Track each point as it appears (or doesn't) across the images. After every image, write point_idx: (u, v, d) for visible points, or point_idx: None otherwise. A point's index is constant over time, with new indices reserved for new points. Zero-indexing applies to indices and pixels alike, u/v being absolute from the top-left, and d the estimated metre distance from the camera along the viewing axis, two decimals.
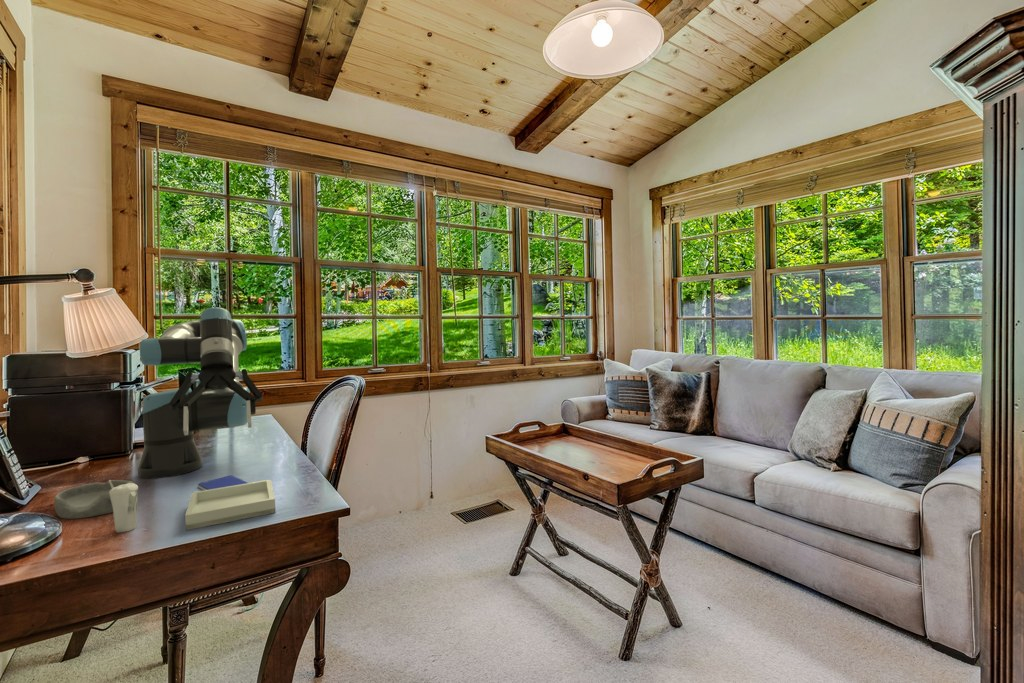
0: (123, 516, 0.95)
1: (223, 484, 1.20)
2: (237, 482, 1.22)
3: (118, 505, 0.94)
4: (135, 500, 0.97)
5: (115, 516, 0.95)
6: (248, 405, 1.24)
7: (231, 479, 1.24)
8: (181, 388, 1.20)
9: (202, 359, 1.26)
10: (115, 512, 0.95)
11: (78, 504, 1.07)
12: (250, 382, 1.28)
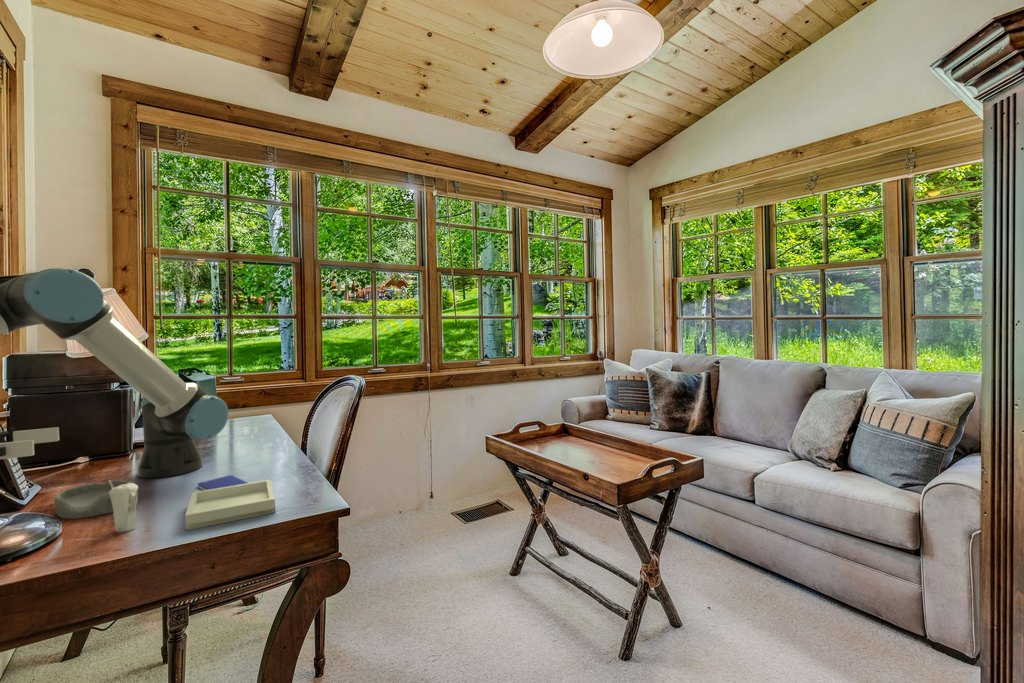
0: (123, 516, 0.95)
1: (223, 484, 1.20)
2: (237, 482, 1.22)
3: (118, 505, 0.94)
4: (135, 500, 0.97)
5: (115, 516, 0.95)
6: None
7: (231, 479, 1.24)
8: None
9: None
10: (115, 512, 0.95)
11: (78, 504, 1.07)
12: None
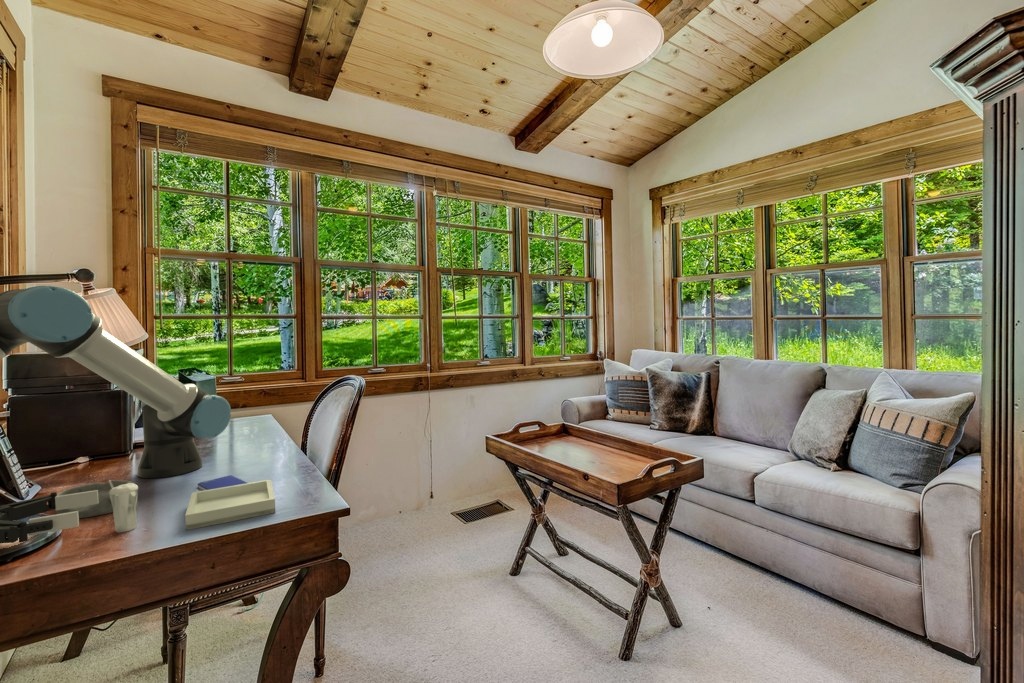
0: (123, 516, 0.95)
1: (223, 484, 1.20)
2: (236, 482, 1.22)
3: (118, 505, 0.94)
4: (135, 500, 0.97)
5: (115, 516, 0.95)
6: None
7: (231, 479, 1.24)
8: None
9: None
10: (115, 512, 0.95)
11: None
12: None
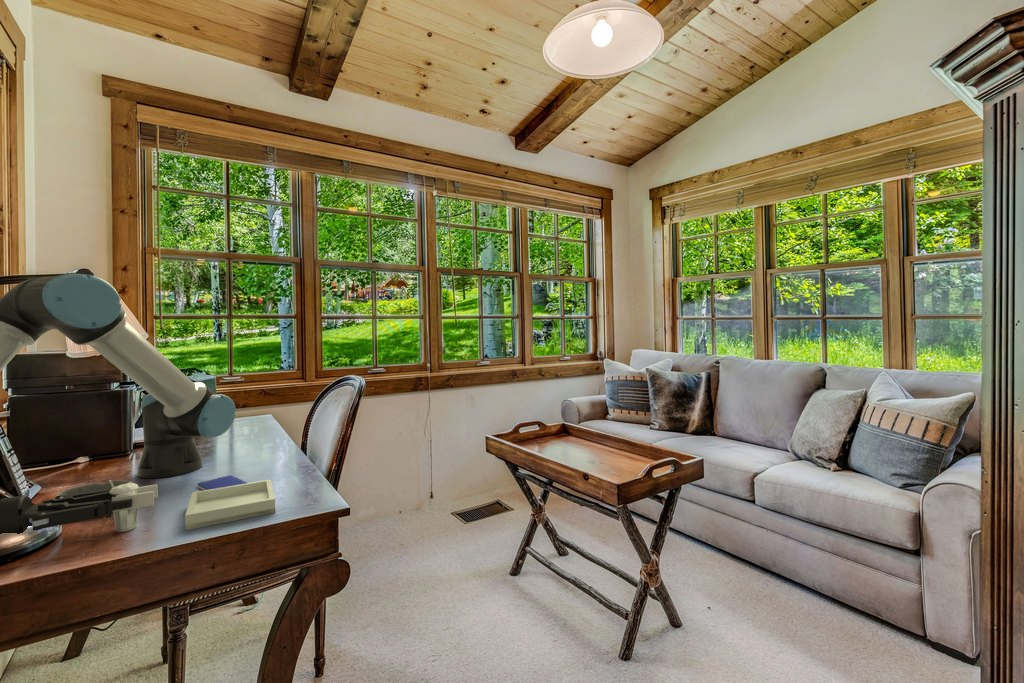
0: (123, 515, 0.95)
1: (222, 484, 1.20)
2: (236, 482, 1.22)
3: None
4: None
5: (115, 516, 0.95)
6: None
7: (230, 479, 1.24)
8: None
9: None
10: None
11: None
12: None
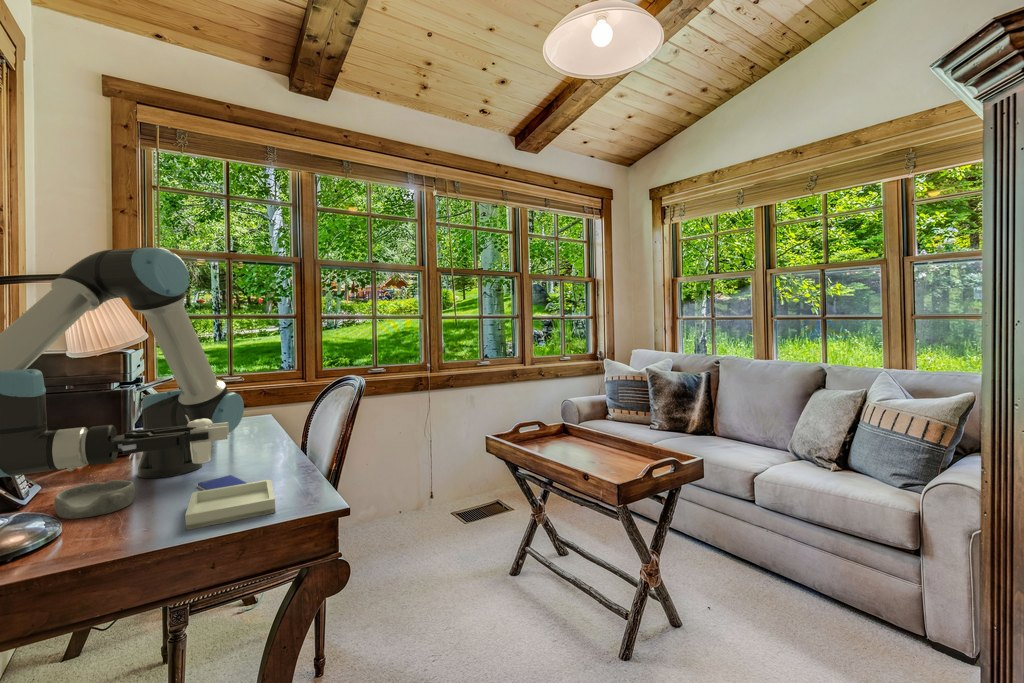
0: (200, 448, 1.00)
1: (222, 484, 1.20)
2: (236, 482, 1.22)
3: None
4: None
5: (192, 448, 1.00)
6: None
7: (230, 479, 1.24)
8: None
9: None
10: (192, 444, 1.00)
11: (78, 504, 1.07)
12: None
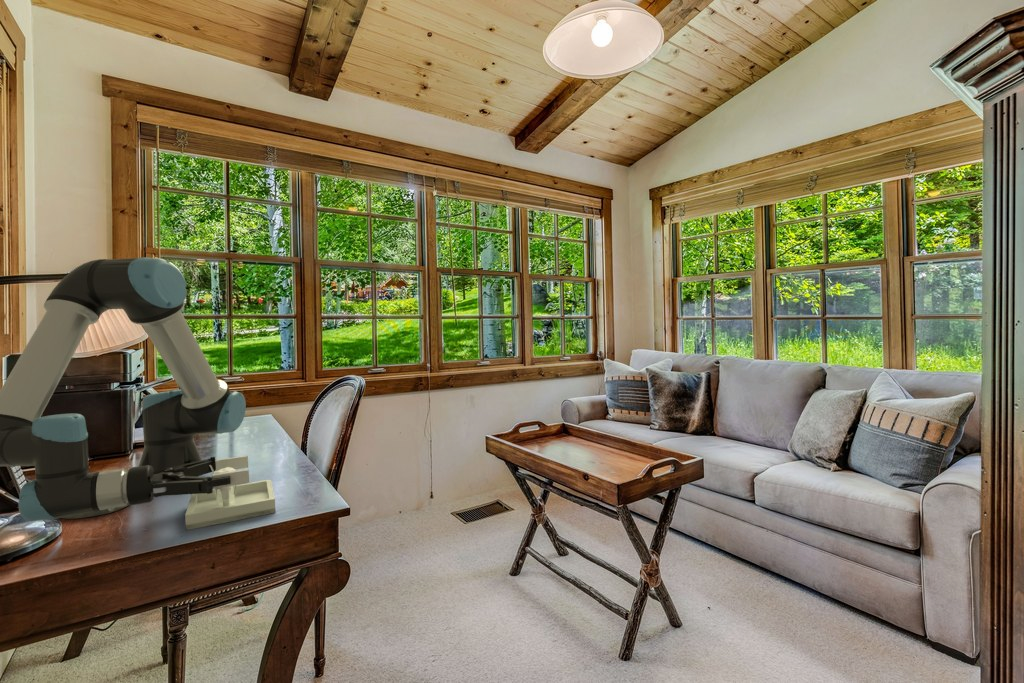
0: (225, 498, 1.00)
1: None
2: None
3: (221, 488, 1.00)
4: None
5: (218, 498, 1.00)
6: None
7: None
8: None
9: None
10: (218, 494, 1.00)
11: None
12: None
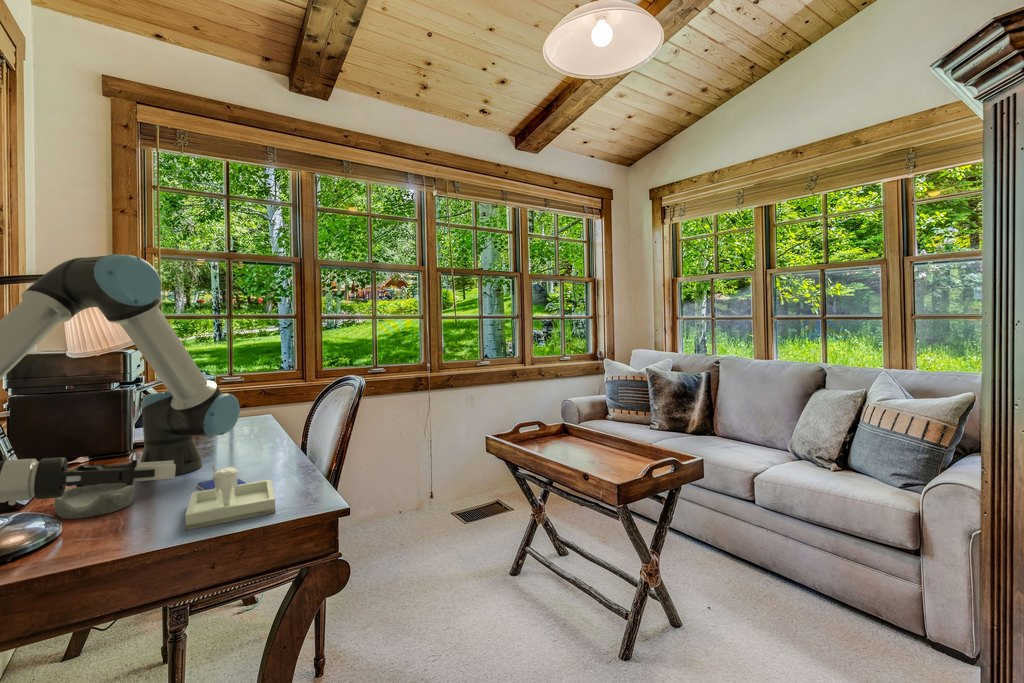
0: (226, 498, 1.01)
1: None
2: None
3: (222, 488, 1.00)
4: (236, 483, 1.02)
5: (219, 498, 1.00)
6: (143, 480, 0.94)
7: None
8: None
9: None
10: (219, 494, 1.00)
11: (78, 504, 1.07)
12: (96, 483, 0.89)
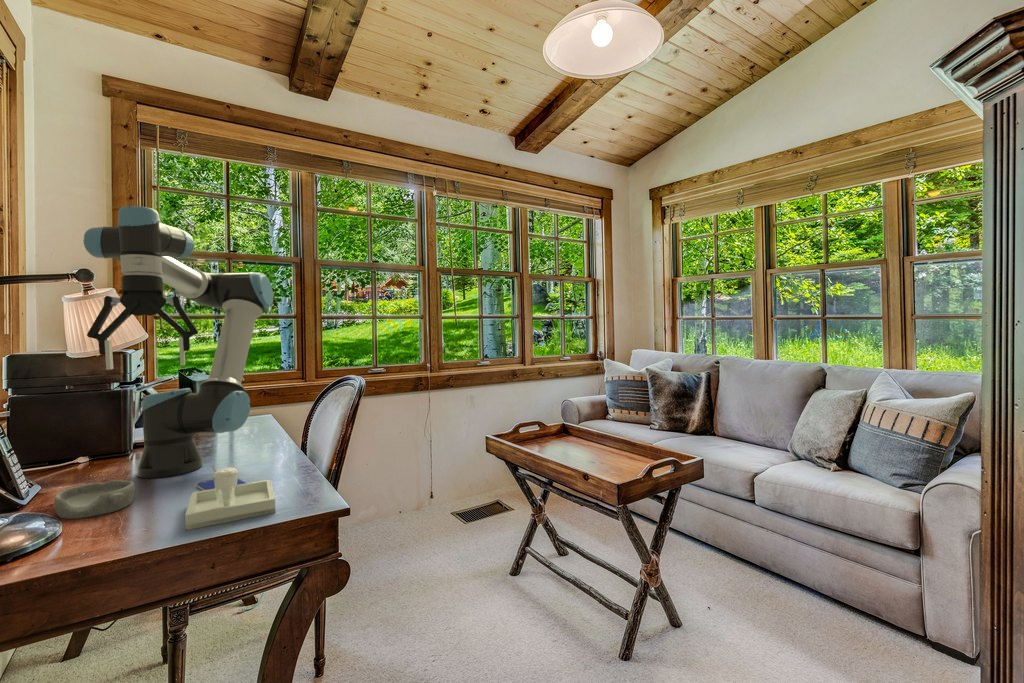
0: (226, 498, 1.01)
1: None
2: None
3: (222, 488, 1.00)
4: (236, 483, 1.02)
5: (219, 498, 1.00)
6: (180, 344, 1.13)
7: None
8: (100, 316, 1.06)
9: (123, 281, 1.07)
10: (219, 494, 1.00)
11: (78, 504, 1.07)
12: (183, 314, 1.13)
